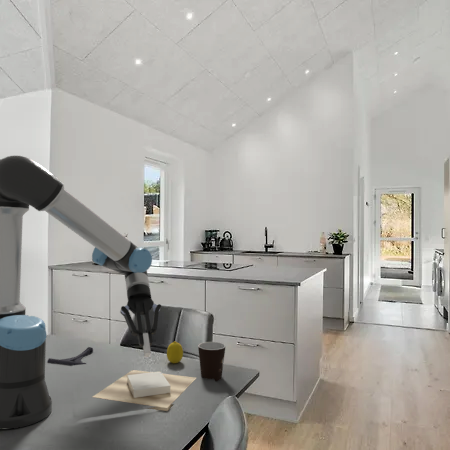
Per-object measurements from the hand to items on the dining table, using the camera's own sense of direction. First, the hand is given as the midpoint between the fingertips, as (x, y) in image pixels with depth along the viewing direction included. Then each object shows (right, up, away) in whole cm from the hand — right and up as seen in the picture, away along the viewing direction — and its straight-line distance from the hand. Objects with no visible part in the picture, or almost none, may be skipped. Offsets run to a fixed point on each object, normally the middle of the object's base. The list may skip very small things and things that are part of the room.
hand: (147, 355), depth 117 cm
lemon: (+5, -10, +20) cm, 23 cm away
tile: (-2, -8, +4) cm, 9 cm away
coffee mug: (+19, -10, +10) cm, 24 cm away
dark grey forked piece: (-29, -10, +26) cm, 40 cm away
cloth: (0, -9, -1) cm, 10 cm away
